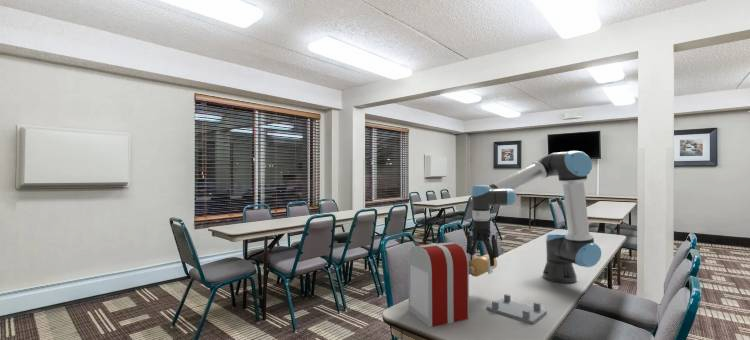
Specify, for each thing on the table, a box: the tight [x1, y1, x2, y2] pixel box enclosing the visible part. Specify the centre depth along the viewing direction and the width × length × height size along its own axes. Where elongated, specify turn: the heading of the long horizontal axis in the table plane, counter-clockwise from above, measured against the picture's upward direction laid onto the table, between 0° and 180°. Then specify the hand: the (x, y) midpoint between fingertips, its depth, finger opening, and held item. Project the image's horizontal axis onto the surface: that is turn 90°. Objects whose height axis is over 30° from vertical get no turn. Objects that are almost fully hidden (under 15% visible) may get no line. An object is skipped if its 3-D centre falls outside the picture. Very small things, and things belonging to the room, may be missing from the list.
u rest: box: [486, 293, 548, 325], centre depth 131 cm, size 18×13×4 cm
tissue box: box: [407, 241, 470, 328], centre depth 129 cm, size 17×18×27 cm
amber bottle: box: [468, 253, 498, 277], centre depth 147 cm, size 19×7×7 cm, turn 134°
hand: (482, 271), depth 149 cm, fingers closed on amber bottle, 7 cm apart
